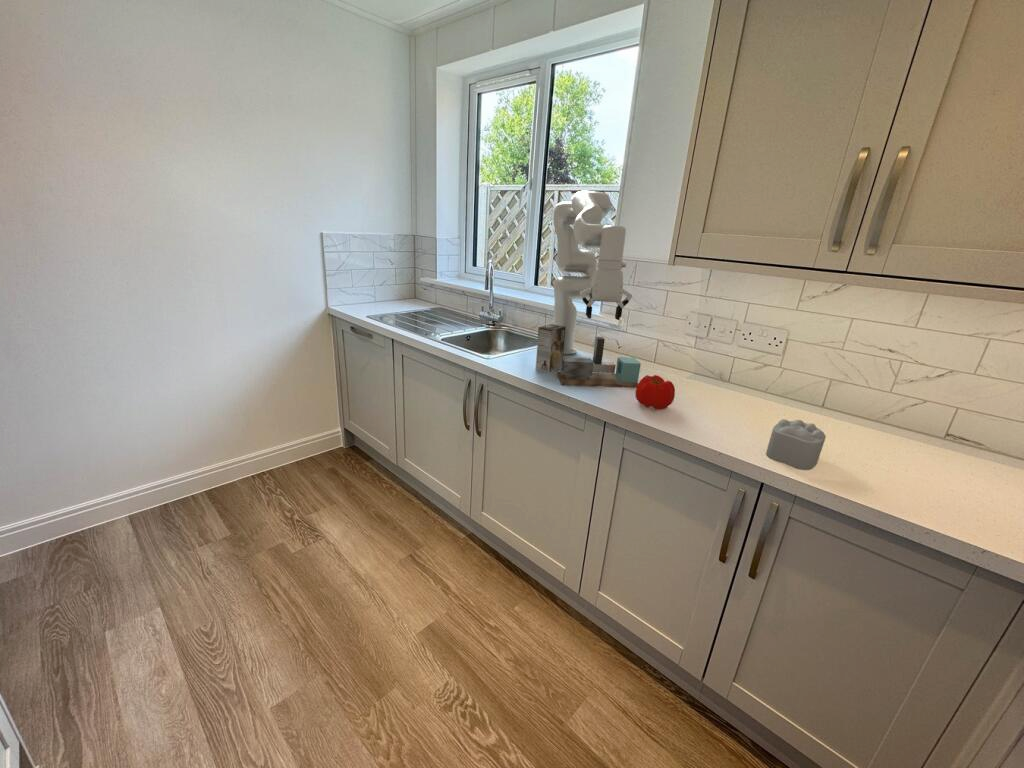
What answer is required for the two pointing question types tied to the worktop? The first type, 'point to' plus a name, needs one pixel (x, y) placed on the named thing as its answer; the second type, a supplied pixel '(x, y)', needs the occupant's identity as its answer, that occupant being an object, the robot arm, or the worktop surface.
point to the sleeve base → (596, 381)
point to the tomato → (655, 392)
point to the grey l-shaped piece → (597, 358)
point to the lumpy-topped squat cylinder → (796, 444)
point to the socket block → (627, 369)
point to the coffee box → (550, 347)
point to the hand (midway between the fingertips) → (603, 318)
